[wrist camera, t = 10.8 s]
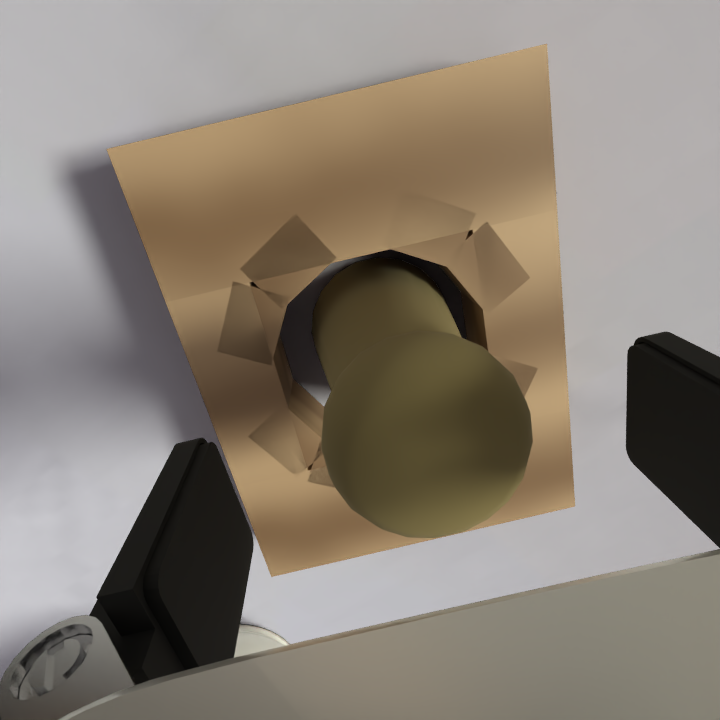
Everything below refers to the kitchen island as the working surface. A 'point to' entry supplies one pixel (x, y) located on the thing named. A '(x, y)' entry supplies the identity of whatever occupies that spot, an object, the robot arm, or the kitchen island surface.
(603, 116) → the kitchen island surface
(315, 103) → the holder board
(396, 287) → the cork
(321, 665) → the robot arm
